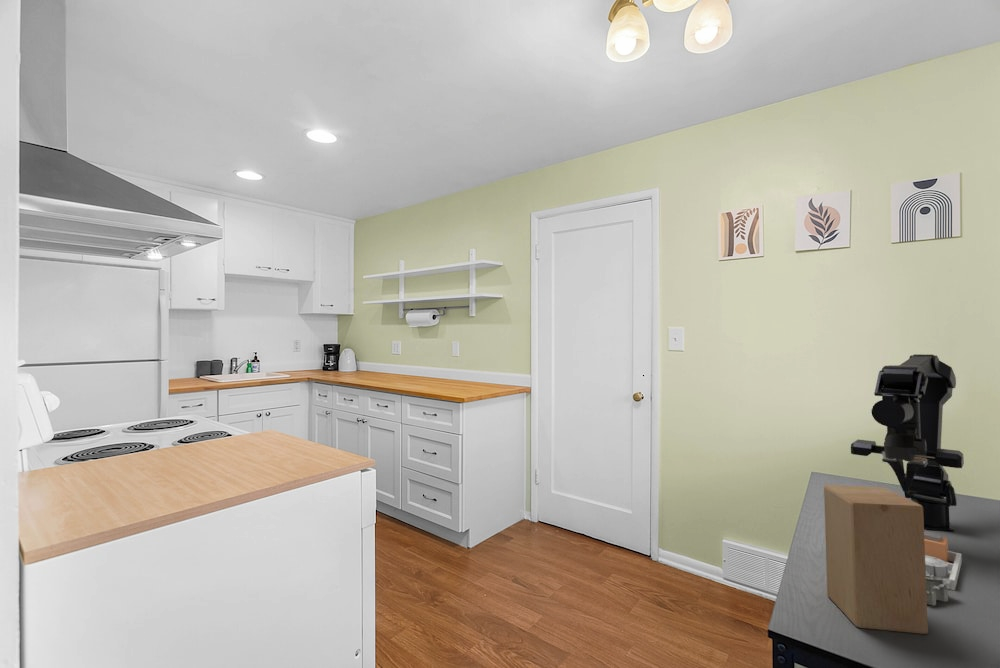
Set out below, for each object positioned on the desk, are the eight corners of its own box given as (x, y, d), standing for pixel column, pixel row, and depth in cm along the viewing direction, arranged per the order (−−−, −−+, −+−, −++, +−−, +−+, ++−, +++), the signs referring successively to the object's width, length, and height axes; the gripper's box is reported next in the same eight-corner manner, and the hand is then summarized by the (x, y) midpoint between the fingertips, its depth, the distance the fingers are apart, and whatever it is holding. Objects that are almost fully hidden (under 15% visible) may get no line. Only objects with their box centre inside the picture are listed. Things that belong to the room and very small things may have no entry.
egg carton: (862, 580, 90) (861, 558, 90) (890, 574, 92) (889, 553, 92) (926, 609, 80) (925, 584, 80) (956, 601, 82) (955, 578, 82)
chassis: (913, 550, 101) (912, 540, 101) (961, 562, 96) (961, 551, 96) (901, 575, 90) (900, 564, 91) (954, 590, 85) (954, 578, 85)
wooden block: (929, 635, 72) (924, 505, 73) (856, 628, 74) (852, 502, 75) (889, 601, 82) (885, 486, 82) (826, 595, 84) (822, 483, 84)
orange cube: (922, 556, 99) (921, 528, 99) (948, 562, 96) (947, 533, 96) (919, 563, 96) (918, 535, 96) (946, 570, 93) (945, 540, 93)
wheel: (913, 562, 94) (913, 551, 94) (949, 571, 90) (948, 560, 90) (909, 570, 90) (909, 560, 90) (946, 580, 87) (946, 569, 87)
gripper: (843, 421, 106) (846, 490, 106) (958, 431, 93) (961, 510, 92) (855, 415, 114) (857, 480, 113) (962, 424, 100) (965, 497, 100)
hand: (905, 491), depth 105 cm, fingers closed
